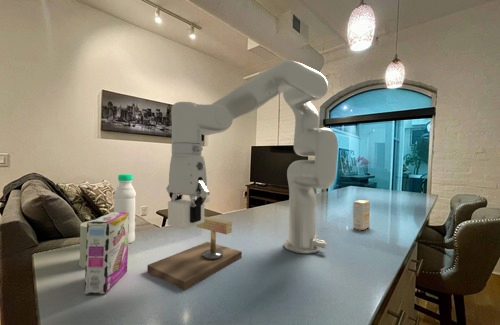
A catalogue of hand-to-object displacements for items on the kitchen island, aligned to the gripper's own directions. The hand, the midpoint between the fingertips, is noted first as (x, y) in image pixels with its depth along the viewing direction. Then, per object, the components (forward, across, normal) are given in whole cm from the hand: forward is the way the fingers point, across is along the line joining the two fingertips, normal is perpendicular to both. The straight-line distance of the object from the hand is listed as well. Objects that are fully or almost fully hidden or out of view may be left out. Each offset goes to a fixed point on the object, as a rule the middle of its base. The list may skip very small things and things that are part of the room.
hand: (186, 218), depth 61 cm
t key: (+13, 0, -10) cm, 17 cm away
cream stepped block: (+1, 0, -2) cm, 2 cm away
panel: (+15, +3, -7) cm, 17 cm away
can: (+15, +28, +9) cm, 33 cm away
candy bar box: (+15, +13, +13) cm, 24 cm away
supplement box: (+17, -31, -80) cm, 87 cm away
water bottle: (+15, +38, -4) cm, 41 cm away
